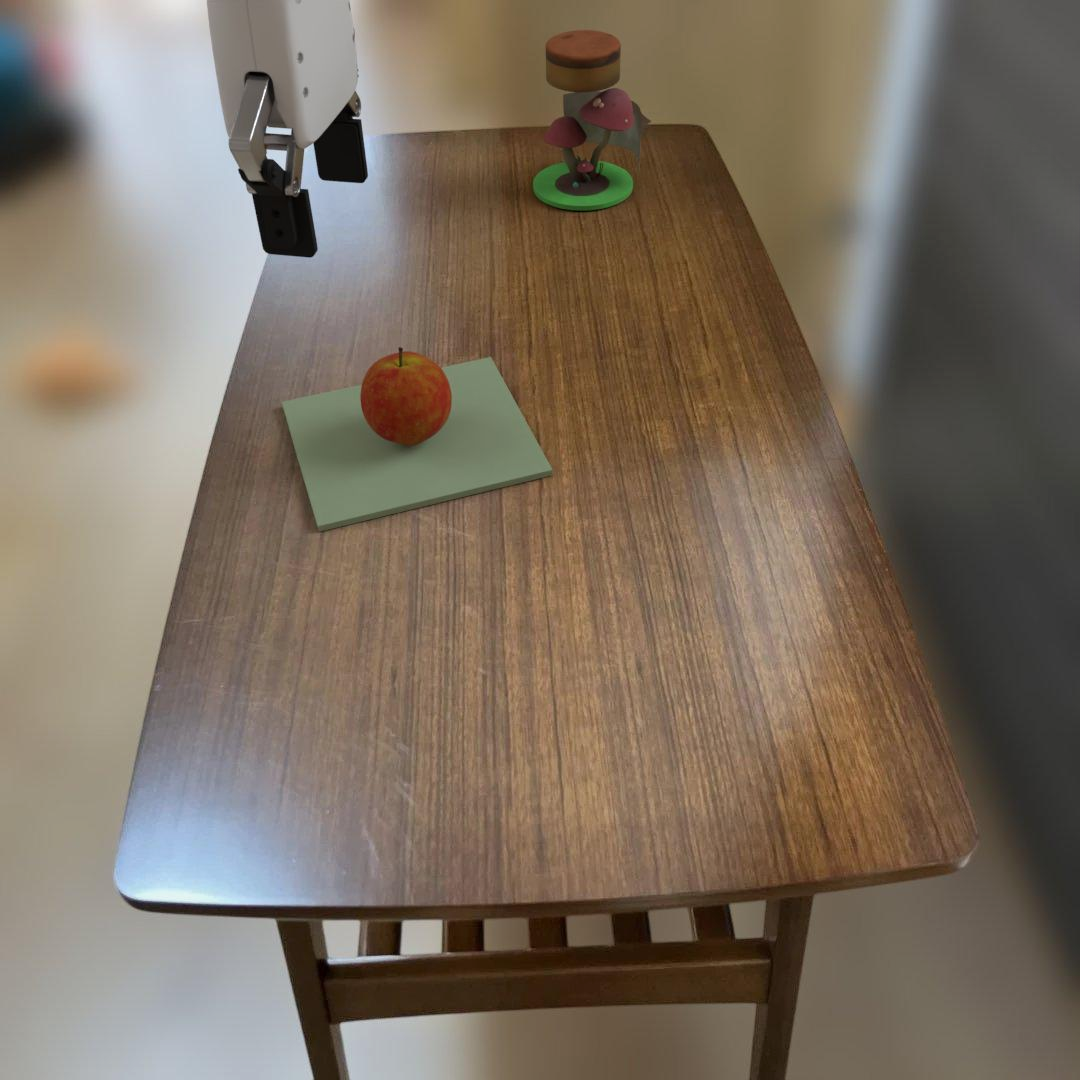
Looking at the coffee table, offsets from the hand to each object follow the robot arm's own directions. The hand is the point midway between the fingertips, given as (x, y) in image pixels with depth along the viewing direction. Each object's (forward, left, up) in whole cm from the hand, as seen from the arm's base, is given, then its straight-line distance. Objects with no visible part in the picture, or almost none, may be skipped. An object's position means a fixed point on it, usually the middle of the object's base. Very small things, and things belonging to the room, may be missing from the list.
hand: (318, 214), depth 69 cm
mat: (+5, +5, -22) cm, 23 cm away
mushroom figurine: (+33, +40, -23) cm, 56 cm away
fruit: (+5, +4, -22) cm, 23 cm away
